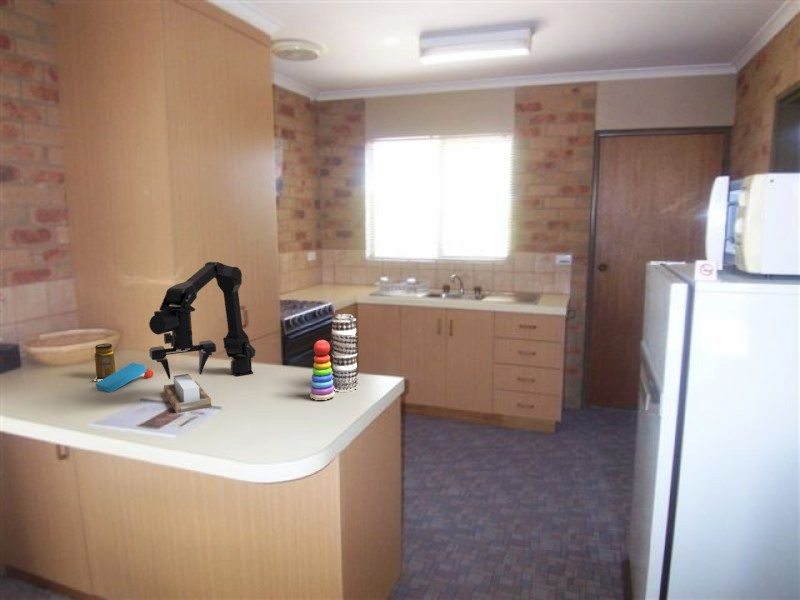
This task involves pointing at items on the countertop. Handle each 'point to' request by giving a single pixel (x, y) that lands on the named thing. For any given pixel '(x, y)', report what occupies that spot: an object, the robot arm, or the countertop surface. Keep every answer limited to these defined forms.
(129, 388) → the countertop surface
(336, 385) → the decorative candle
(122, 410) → the countertop surface
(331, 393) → the stacking toy
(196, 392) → the white tall block
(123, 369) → the lever
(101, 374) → the condiment
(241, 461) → the countertop surface
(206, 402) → the wooden tray
